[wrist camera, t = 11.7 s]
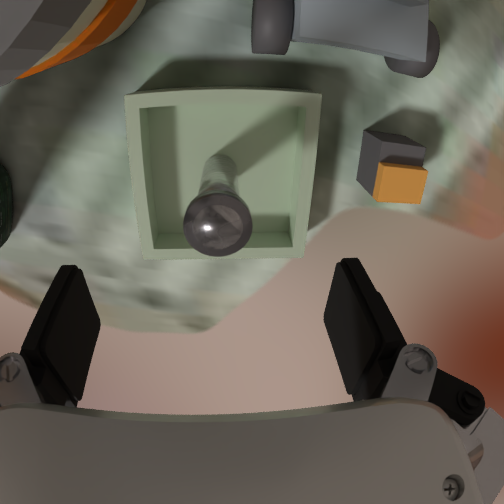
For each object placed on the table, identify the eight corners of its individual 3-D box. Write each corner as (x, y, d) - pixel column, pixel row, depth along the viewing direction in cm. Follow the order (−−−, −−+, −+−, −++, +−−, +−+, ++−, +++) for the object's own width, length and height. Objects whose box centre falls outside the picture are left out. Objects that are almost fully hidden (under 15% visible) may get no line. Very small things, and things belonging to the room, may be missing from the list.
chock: (363, 130, 24) (387, 144, 20) (404, 135, 24) (432, 151, 20) (356, 179, 26) (377, 201, 22) (395, 182, 26) (420, 204, 23)
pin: (195, 148, 23) (180, 196, 15) (244, 148, 23) (253, 195, 16) (197, 192, 25) (185, 257, 17) (242, 191, 25) (251, 256, 18)
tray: (135, 91, 20) (124, 95, 18) (311, 90, 21) (322, 94, 19) (150, 240, 28) (143, 259, 25) (296, 238, 29) (303, 257, 26)
